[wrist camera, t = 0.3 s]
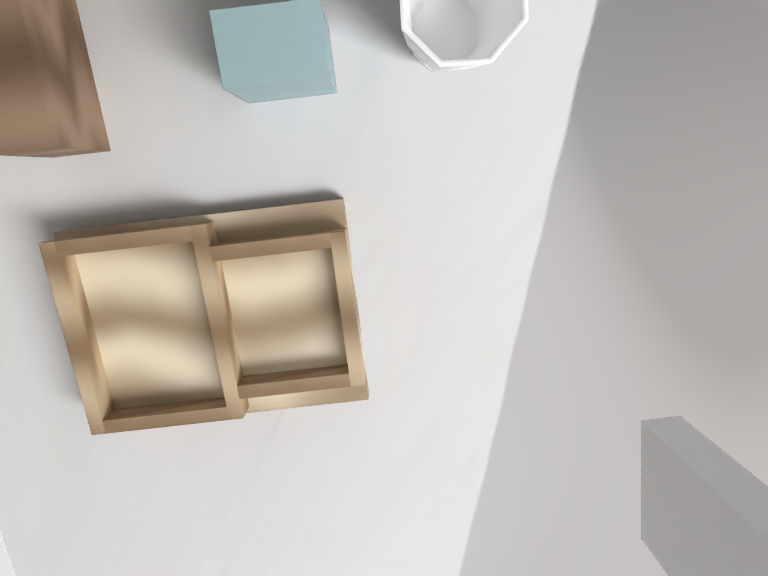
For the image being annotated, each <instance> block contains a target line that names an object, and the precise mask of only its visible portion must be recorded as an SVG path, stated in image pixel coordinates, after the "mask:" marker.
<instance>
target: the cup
mask: <svg viewBox="0 0 768 576" xmlns="http://www.w3.org/2000/svg"><path fill="white" fill-rule="evenodd" d="M400 15H401V30H402V33H403V35H404V38H405V40H406V43H407V46H408V47H409V48H410V49H411V50H412V51H413V55H414V56H415V57H416V58H418V59H419V60H420V61H421V62H422V63H423V64H424V65H425V66H426V67H427V68H428V69H429V70H430V71H431V72H434V71H448V70H460V69H471V68H474V67H477V66H482V65H486V64H490V63H492V62H493V61H494V60H495V59H496V58H497V56H498V55H499V54H500V53H501V52H502V50H503V49H504V48H505V47H506V46H507V45H508V43H509V42H510V41H511V40H512V39H513V37H514V36H515V35H516V34H517V33H518V32H519V30H520V29H521V28H522V27H523V26H524V24H525V23H526V22H527V21H528V0H400Z"/></svg>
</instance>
